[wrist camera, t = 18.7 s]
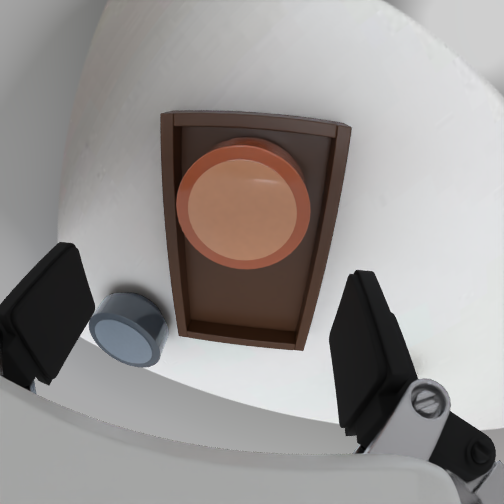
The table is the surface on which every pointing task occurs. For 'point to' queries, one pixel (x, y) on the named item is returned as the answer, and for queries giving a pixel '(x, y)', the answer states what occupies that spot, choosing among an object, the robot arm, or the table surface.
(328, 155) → the tray
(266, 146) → the terracotta dish
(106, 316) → the slate dish
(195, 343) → the table surface
